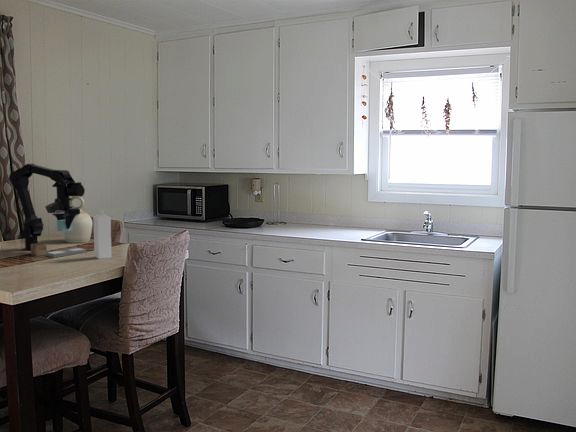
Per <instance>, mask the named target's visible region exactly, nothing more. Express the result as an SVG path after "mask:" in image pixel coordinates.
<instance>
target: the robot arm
mask: <svg viewBox="0 0 576 432" xmlns="http://www.w3.org/2000/svg"><path fill="white" fill-rule="evenodd" d="M33 174H36V175H40V176H42V177H47V178H49V179H50V180H52V181H54V184H52V188H56V189H55V190H56V198H55V199H54V202H50V203H49V204H47V205H45V206H44V207H45V209H46V212H47V213H48V214H52V216H54V217H55V218H56V221H57V220H65V221H66V227H67V229H69V228H70V226H71V223H72V221H73V219H74V217H75V215H76V214H80V209H78V208H72V207H70V200H72V199H71V197H73V196H79V197H83V196H84V195H85V191H86V189H85V188H84V185H82V182H81V181H80V182H79V181H78V182H76V181H75V179H74V178H73V177H72V175H71V173H70V170H67V169H53V168H49V167H45V166H42V165H38V164H35V163H26V164H24V165H23V166H21V167H19V168H18V169H16V170H14V171H11V173H9V176H8V177H9V178H8V179H9V182H10V183H11V186H12V187H13V188H14V189H15V190H16V191H17V195H18V199H19V201H20V205H21V208H22V212H23V216H24V222H23V229H22V231H21V232H20V233H19V236H20V238H21V239H24V247H22V248H21V250H24V251H31V244H36V243H39V242H38V237H41V236H42V232H43V230H44V226H45V225H44V223H43V219H42V218H41V217H38V216H37V215H36V212H35V209H34V205H33V201H32V198H31V194H30V192H29V183H30V177H31V176H33ZM72 201H73V200H72Z"/></svg>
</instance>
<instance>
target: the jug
mask: <svg viewBox="0 0 576 432" xmlns="http://www.w3.org/2000/svg"><path fill="white" fill-rule="evenodd" d="M70 198H71V199H72V200H70V207H72V208H78V209H80V214H76V215H75V217H74V219H73V221H72V229H73V230H71V231H62V232H63V237H64V240H65V243H68V244H70V243H71V244H81V243H87V242H90V240H91V236H92V230H93V219H92V217H91V216H90V214H88V213H87V212H86V211H84V210H82V209H83V208H84V206H85V200H84V198H83V196H81V197H79V196H70ZM75 199H78V200H79V201H80V202H81V204H80V205H79V206H77V207H75V206H74V205H73V203H72V202H73V200H75Z"/></svg>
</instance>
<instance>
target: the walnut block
mask: <svg viewBox="0 0 576 432" xmlns="http://www.w3.org/2000/svg"><path fill="white" fill-rule="evenodd" d="M47 250H48V249H47V243H44V242H38V243H36V244H31V250H30V255H33V256H44V255H46V253H47V252H48V251H47Z"/></svg>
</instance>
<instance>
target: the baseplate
mask: <svg viewBox="0 0 576 432" xmlns="http://www.w3.org/2000/svg"><path fill="white" fill-rule="evenodd" d="M87 253H88V251H87V249H85V248H80V247H76V248H69V249H62V250H55V251H47V253H46V254H45V256H46V257H50V258H54V259H55V258H60V257H67V256H73V255H80V254H87Z"/></svg>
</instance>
